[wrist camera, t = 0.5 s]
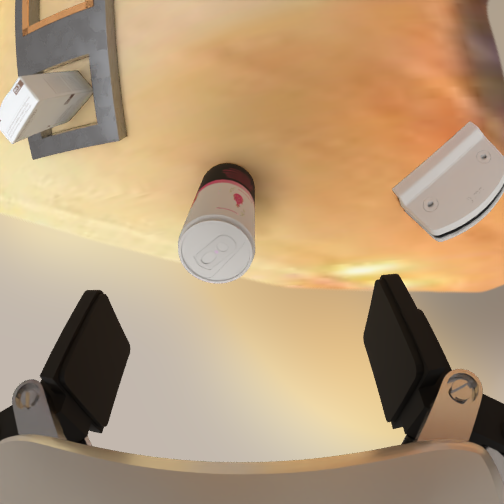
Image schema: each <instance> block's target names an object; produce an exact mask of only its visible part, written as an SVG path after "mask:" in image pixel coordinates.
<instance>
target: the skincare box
mask: <svg viewBox="0 0 504 504" xmlns="http://www.w3.org/2000/svg"><path fill="white" fill-rule="evenodd" d="M92 93H93V88H92V87H91V86H90V85H89V83H88V82H87V81H86V80H85V79H84V78H83V77H82V76H81V74H80V73H79V72H78V71H66V72H53V73H43V74H34V75H26V76H19V77H18V79H17V81H16V82H15V84H14V85H13V87H12V89H11V90H10V92H9V93H8V94H7V95H6V96H5V98H4V100H3V102H2V104H1V107H0V130H1V132H2V133H3V134H4V136H5V137H6V138H7V139H8V140H9V141H10V142H11V143H12V144H14V143H16V142H18V141H20V140H22V139H25V138H27V137H30V136H32V135H34V134H37V133H39V132H42V131H44V130H47V129H50V128H52V127H55V126H58V125H60V124H63V123H66V122H68V121H69V120H70V119H71V118H72V117H73V116H74V115H75V114H76V112H77V111H78V110H79V109H80V108H81V107H82V105H83V104H84V103H85V102H86V101H87V100H88V98H89V97H90V96H91V95H92Z"/></svg>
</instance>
